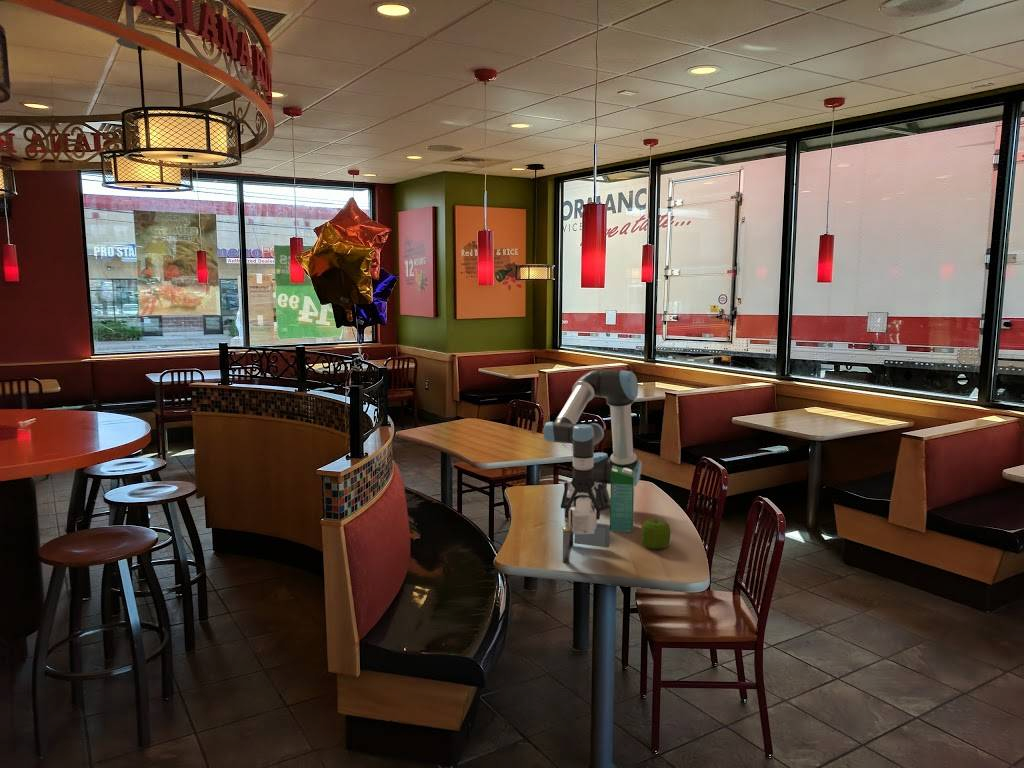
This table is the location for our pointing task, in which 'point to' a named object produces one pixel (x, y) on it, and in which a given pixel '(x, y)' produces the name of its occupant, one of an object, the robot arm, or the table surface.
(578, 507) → the container
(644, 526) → the apple
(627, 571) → the table surface
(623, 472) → the milk carton
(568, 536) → the gate posts
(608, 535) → the gate
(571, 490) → the supplement tub
